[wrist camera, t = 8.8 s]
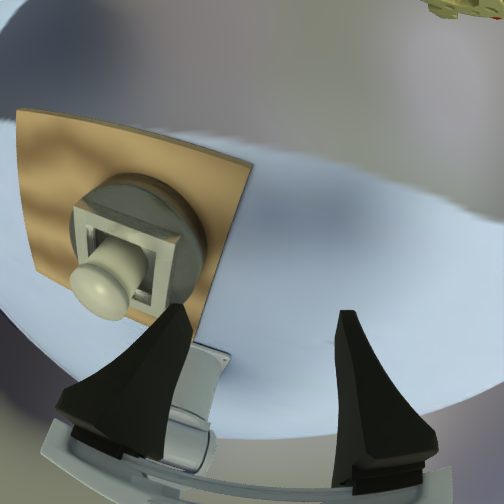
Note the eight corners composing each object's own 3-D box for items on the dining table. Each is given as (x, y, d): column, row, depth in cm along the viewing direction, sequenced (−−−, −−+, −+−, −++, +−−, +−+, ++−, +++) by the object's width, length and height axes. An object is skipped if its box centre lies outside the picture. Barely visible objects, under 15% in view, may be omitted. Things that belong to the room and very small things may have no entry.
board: (194, 336, 32) (192, 343, 31) (40, 266, 30) (36, 270, 29) (252, 164, 19) (250, 168, 18) (23, 107, 17) (16, 110, 16)
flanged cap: (148, 288, 22) (126, 329, 18) (101, 268, 22) (74, 304, 18) (153, 245, 19) (124, 287, 16) (99, 224, 19) (65, 259, 15)
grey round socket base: (193, 305, 27) (180, 338, 23) (91, 262, 26) (70, 289, 23) (224, 201, 20) (207, 232, 16) (88, 157, 19) (55, 177, 15)
